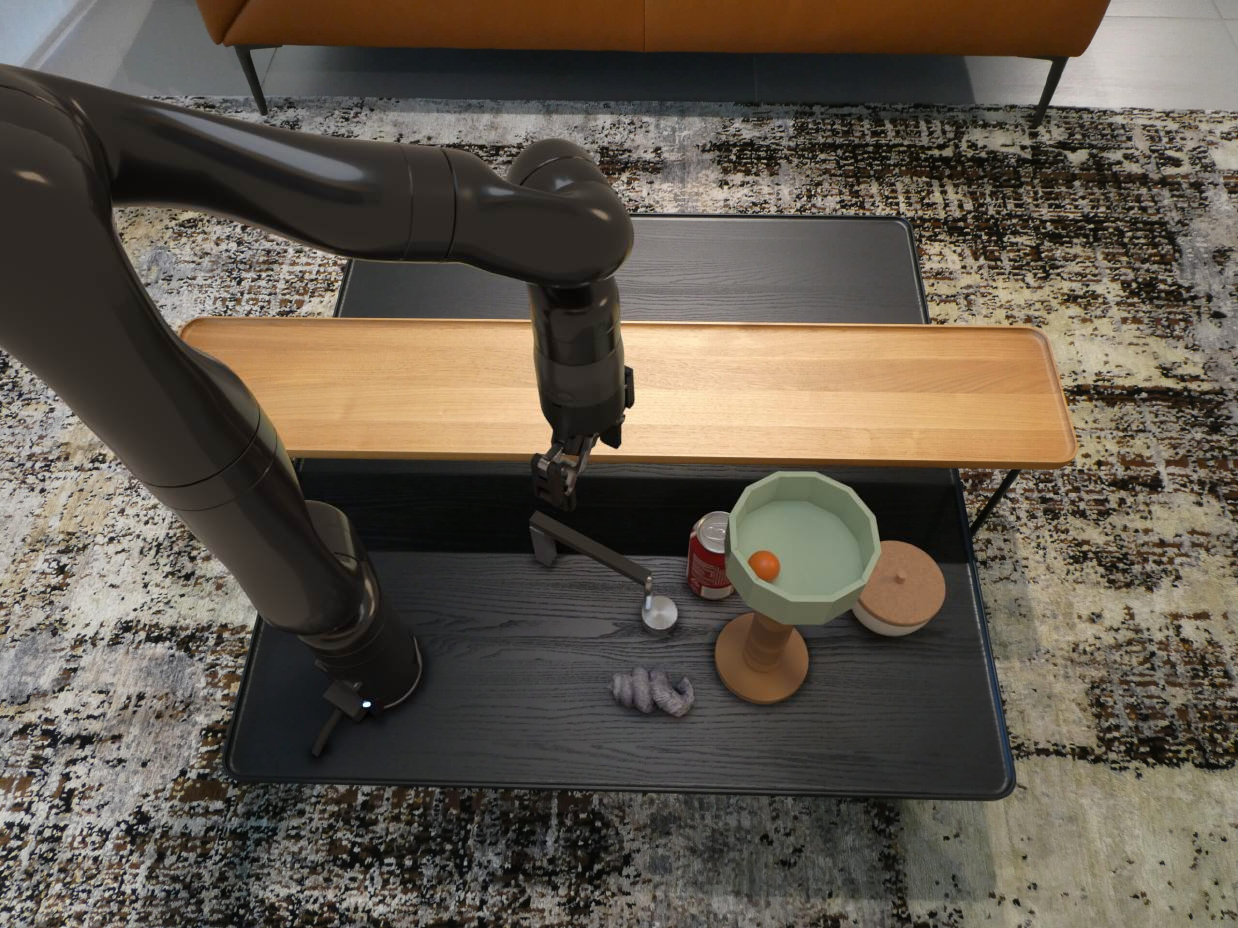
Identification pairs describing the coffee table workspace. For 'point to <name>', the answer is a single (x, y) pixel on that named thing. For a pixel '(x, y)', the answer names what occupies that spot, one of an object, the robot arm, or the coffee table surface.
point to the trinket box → (900, 591)
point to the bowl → (802, 546)
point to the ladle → (655, 611)
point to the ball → (765, 565)
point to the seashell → (652, 691)
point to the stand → (761, 658)
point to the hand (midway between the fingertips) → (588, 473)
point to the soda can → (709, 557)
